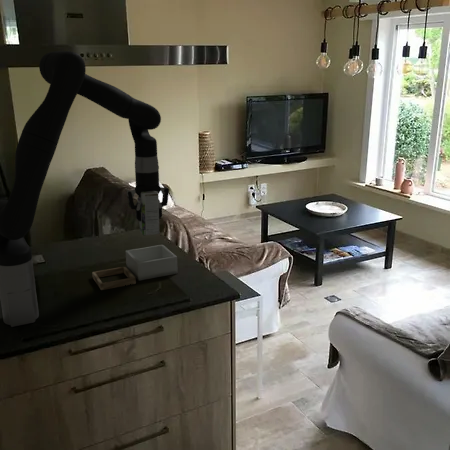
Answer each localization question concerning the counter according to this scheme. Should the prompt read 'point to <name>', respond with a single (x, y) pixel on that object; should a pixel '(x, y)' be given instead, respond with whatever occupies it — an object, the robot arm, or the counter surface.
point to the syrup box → (149, 213)
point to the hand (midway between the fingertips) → (149, 219)
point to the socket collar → (113, 284)
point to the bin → (151, 262)
